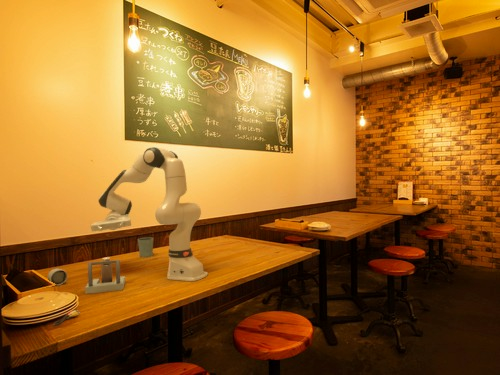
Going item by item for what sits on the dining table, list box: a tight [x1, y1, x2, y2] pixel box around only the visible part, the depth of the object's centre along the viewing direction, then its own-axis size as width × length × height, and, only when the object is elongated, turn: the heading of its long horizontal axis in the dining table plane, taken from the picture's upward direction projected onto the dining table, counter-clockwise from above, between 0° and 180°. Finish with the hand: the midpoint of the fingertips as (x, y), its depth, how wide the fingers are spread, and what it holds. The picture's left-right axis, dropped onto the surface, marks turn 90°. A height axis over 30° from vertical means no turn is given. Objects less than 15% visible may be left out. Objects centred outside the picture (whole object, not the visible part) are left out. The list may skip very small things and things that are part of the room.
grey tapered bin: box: [137, 237, 154, 258], centre depth 214 cm, size 10×10×12 cm
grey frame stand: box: [84, 259, 126, 295], centre depth 152 cm, size 12×16×14 cm
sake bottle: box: [100, 256, 114, 283], centre depth 154 cm, size 5×5×14 cm
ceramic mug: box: [47, 268, 68, 286], centre depth 159 cm, size 11×8×8 cm
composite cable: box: [53, 309, 81, 327], centre depth 118 cm, size 10×5×2 cm, turn 154°
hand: (110, 228), depth 165 cm, fingers open, 8 cm apart
